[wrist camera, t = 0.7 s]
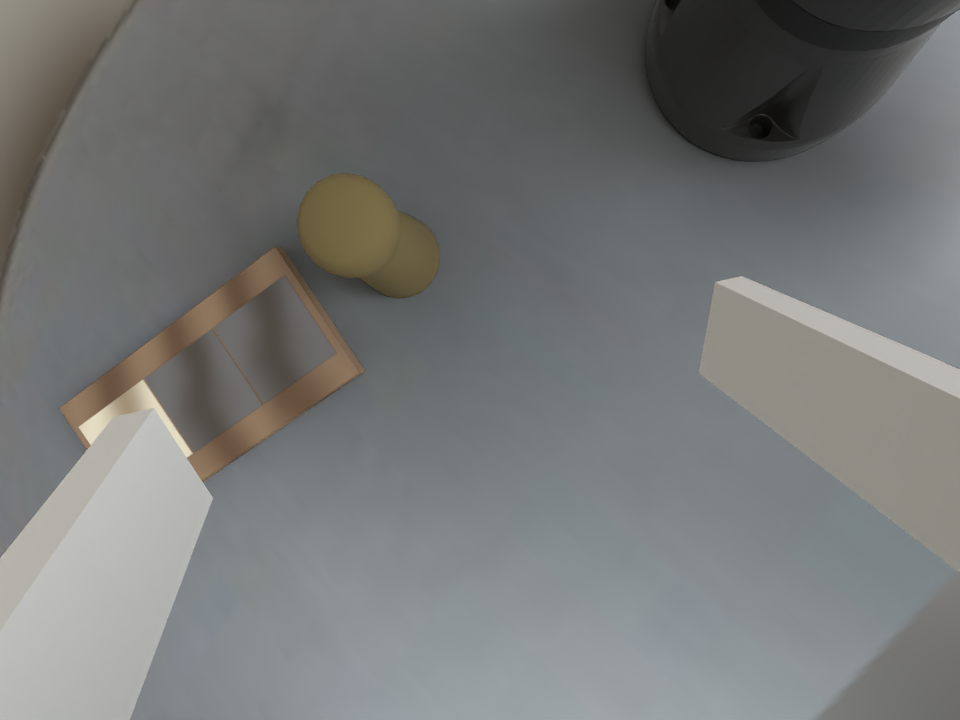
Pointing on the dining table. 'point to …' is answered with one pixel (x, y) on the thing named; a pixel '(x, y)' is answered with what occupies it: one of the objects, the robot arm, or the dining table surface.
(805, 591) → the dining table surface
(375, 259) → the cork
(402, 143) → the dining table surface
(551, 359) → the dining table surface
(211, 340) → the brown frame
